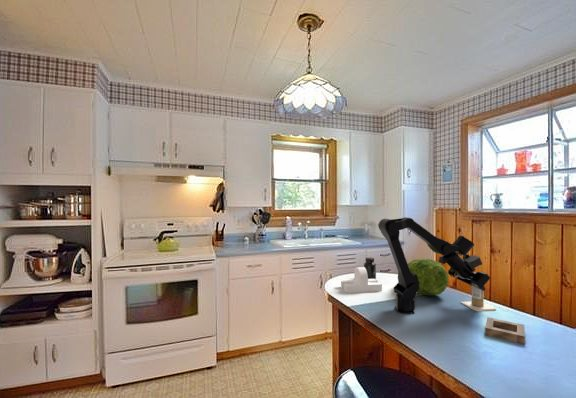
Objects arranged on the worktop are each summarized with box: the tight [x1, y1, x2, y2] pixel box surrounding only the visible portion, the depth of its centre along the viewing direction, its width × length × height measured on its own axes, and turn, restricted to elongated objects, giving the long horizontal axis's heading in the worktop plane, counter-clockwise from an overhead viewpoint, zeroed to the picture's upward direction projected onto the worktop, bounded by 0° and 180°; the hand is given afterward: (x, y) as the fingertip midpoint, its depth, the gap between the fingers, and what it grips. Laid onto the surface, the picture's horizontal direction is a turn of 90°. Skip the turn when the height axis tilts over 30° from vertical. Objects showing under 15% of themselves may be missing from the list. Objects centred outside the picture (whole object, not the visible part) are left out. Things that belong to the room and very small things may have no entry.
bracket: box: [340, 266, 383, 294], centre depth 150 cm, size 19×10×11 cm, turn 94°
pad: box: [460, 300, 497, 312], centre depth 125 cm, size 9×9×1 cm
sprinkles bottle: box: [471, 286, 485, 307], centre depth 124 cm, size 5×5×14 cm
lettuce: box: [407, 258, 449, 297], centre depth 143 cm, size 17×23×17 cm
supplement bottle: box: [363, 257, 377, 280], centre depth 168 cm, size 7×7×12 cm
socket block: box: [484, 317, 526, 345], centre depth 100 cm, size 11×11×2 cm
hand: (480, 288), depth 125 cm, fingers closed on sprinkles bottle, 4 cm apart
